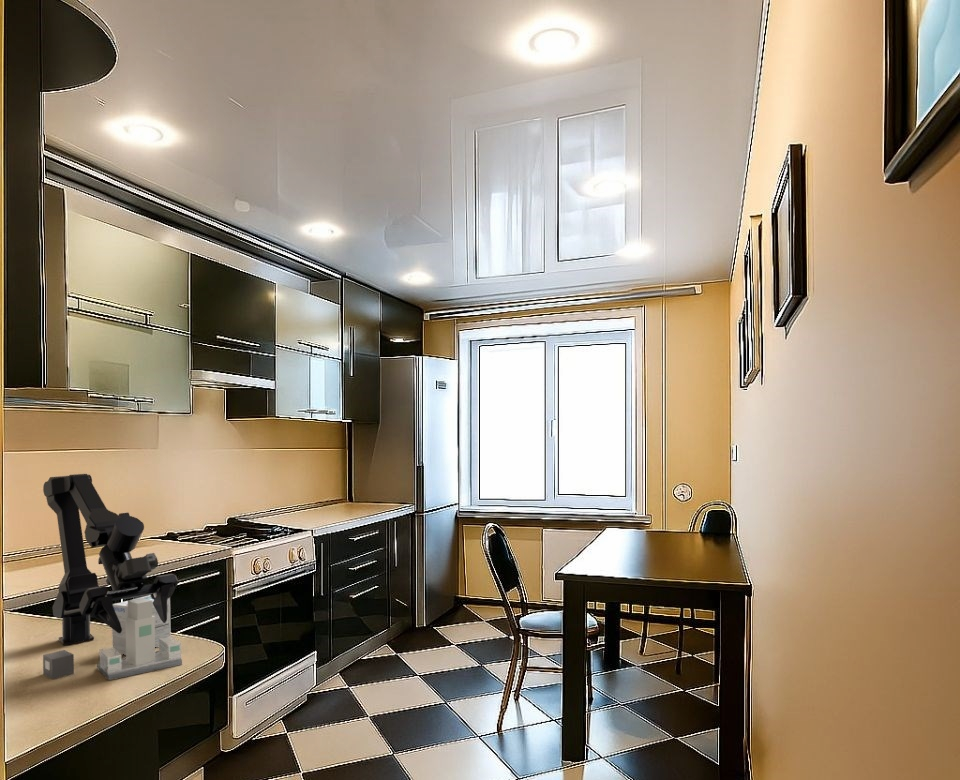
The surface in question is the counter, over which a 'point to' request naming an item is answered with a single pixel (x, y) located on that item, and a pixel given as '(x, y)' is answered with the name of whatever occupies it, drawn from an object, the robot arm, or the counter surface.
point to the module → (140, 632)
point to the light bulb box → (122, 613)
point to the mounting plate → (120, 668)
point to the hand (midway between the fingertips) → (143, 626)
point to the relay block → (58, 664)
